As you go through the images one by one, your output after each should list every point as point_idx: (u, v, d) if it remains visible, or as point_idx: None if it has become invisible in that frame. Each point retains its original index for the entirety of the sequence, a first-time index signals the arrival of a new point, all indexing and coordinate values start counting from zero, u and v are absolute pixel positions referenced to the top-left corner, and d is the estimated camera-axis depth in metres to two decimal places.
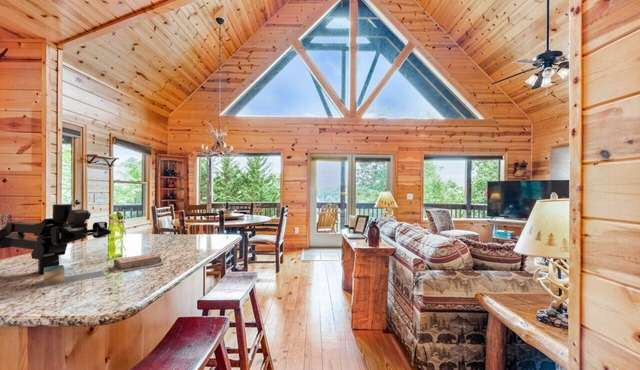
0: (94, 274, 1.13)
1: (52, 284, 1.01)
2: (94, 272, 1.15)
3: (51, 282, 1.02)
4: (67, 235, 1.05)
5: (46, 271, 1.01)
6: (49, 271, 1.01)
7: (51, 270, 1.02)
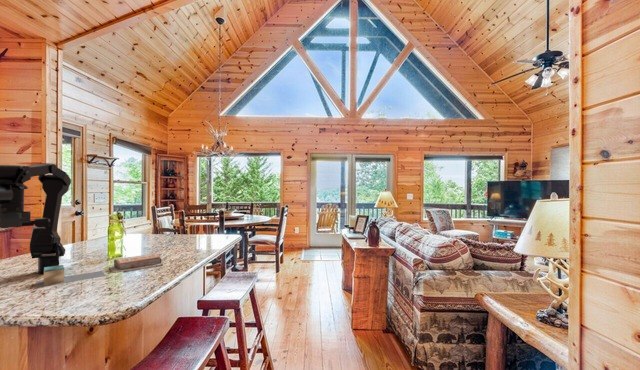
0: (94, 274, 1.13)
1: (52, 284, 1.01)
2: (94, 272, 1.15)
3: (51, 282, 1.02)
4: None
5: (46, 271, 1.01)
6: (49, 271, 1.01)
7: (51, 270, 1.02)
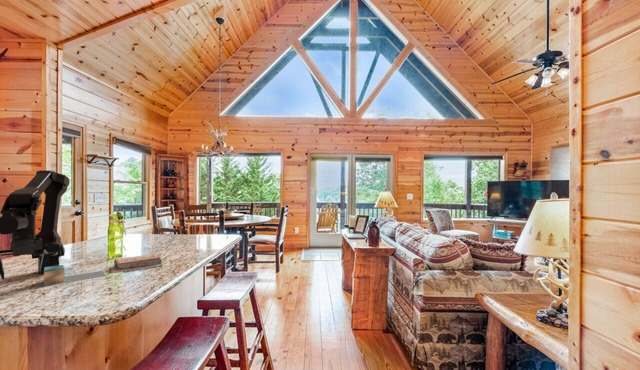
0: (94, 274, 1.13)
1: (52, 284, 1.01)
2: (94, 272, 1.15)
3: (51, 282, 1.02)
4: None
5: (46, 271, 1.01)
6: (49, 271, 1.01)
7: (51, 270, 1.02)
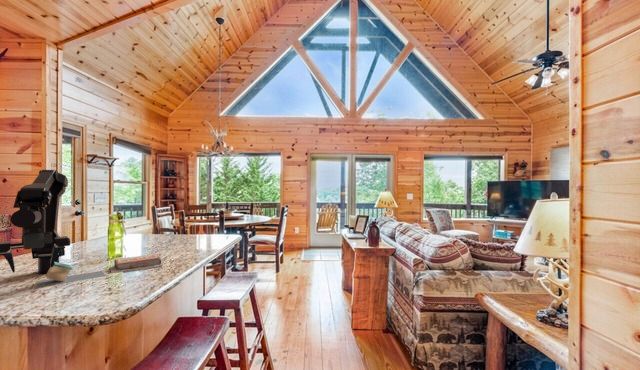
0: (94, 274, 1.13)
1: (52, 284, 1.01)
2: (94, 272, 1.15)
3: (53, 278, 1.02)
4: None
5: (55, 265, 1.02)
6: (58, 266, 1.03)
7: (60, 266, 1.03)
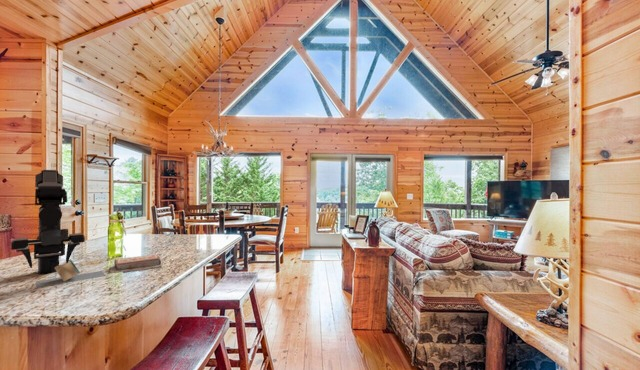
0: (94, 274, 1.13)
1: (52, 284, 1.01)
2: (94, 272, 1.15)
3: (60, 273, 1.03)
4: None
5: (71, 263, 1.06)
6: (72, 265, 1.06)
7: (74, 266, 1.06)
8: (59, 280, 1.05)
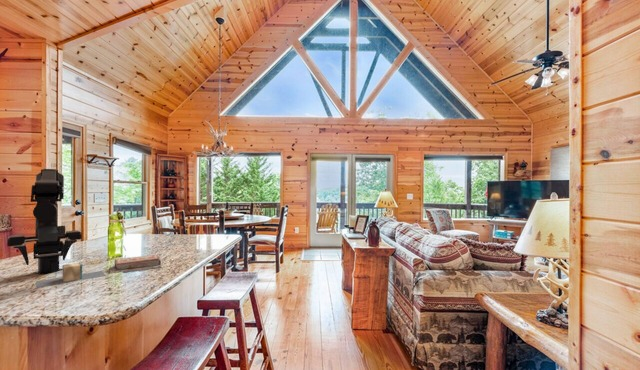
0: (94, 274, 1.13)
1: (52, 284, 1.01)
2: (94, 272, 1.15)
3: (65, 272, 1.04)
4: None
5: (80, 266, 1.07)
6: (80, 268, 1.07)
7: (80, 269, 1.07)
8: (59, 280, 1.05)
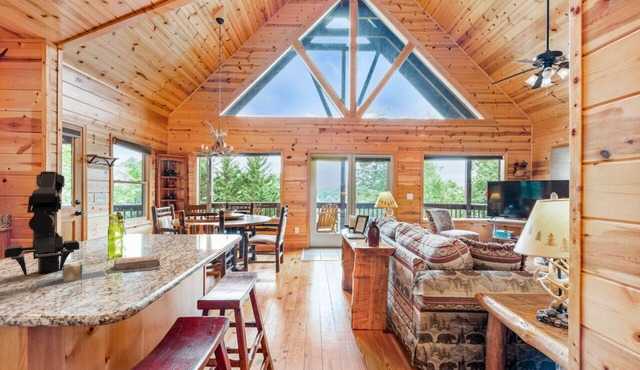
0: (94, 274, 1.13)
1: (52, 284, 1.01)
2: (94, 272, 1.15)
3: (66, 272, 1.04)
4: None
5: (80, 266, 1.07)
6: (80, 268, 1.07)
7: (81, 269, 1.07)
8: (59, 280, 1.05)
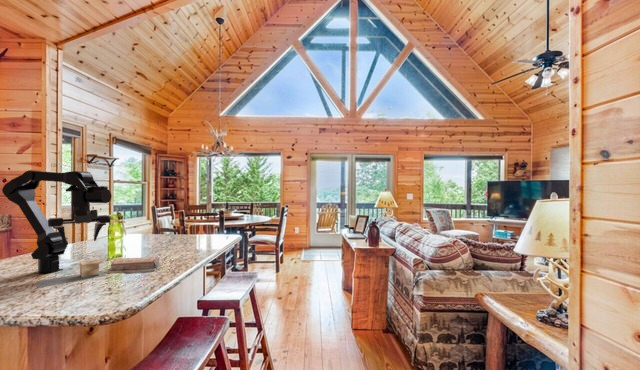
0: None
1: (52, 284, 1.01)
2: None
3: (93, 264, 1.10)
4: None
5: (97, 274, 1.11)
6: (95, 274, 1.10)
7: (93, 275, 1.10)
8: (59, 280, 1.05)
